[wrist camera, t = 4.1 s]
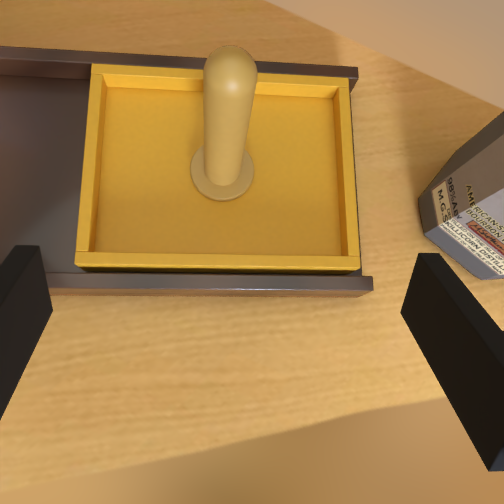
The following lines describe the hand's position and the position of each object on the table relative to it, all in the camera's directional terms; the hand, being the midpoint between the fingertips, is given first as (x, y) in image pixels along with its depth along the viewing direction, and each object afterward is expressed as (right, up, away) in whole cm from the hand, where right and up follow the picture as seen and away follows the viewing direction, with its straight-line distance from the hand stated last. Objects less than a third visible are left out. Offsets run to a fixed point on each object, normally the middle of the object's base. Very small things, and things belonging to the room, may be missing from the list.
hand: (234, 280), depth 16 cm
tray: (-2, +6, +16) cm, 17 cm away
